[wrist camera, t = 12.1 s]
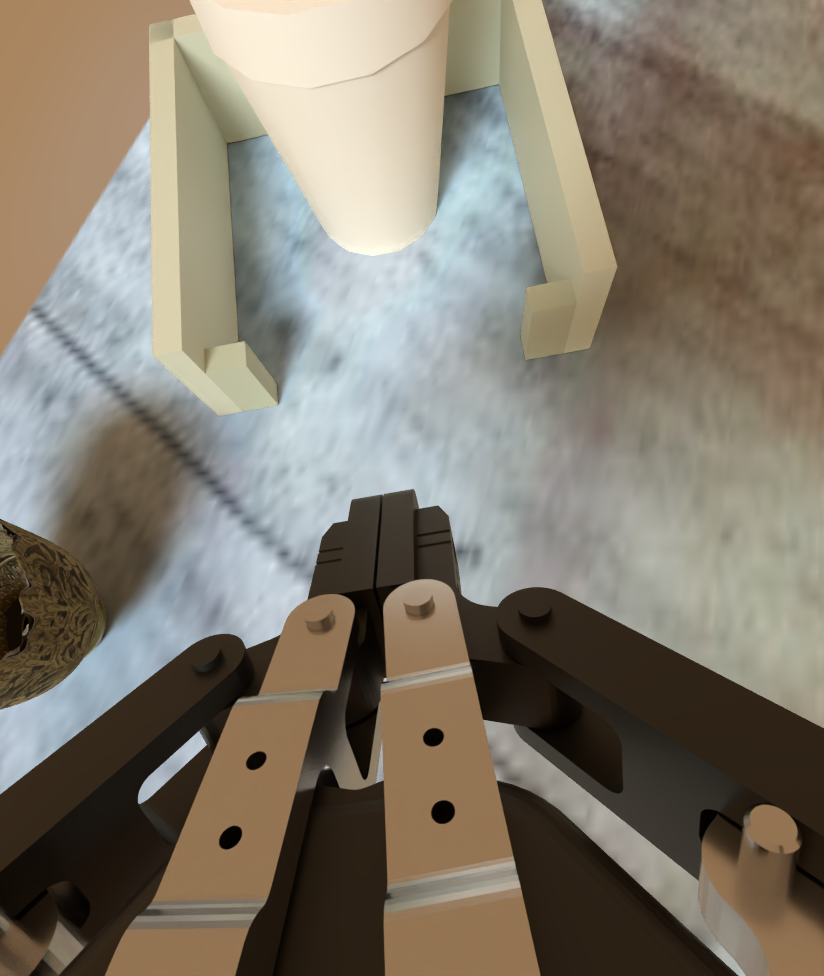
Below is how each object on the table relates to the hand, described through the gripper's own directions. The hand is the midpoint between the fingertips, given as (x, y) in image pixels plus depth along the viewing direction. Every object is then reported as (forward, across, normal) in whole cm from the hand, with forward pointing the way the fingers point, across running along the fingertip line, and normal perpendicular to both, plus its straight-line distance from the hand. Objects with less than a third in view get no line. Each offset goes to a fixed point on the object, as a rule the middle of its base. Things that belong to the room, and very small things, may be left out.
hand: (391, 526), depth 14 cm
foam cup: (+23, 0, -6) cm, 23 cm away
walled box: (+21, 0, -5) cm, 22 cm away
